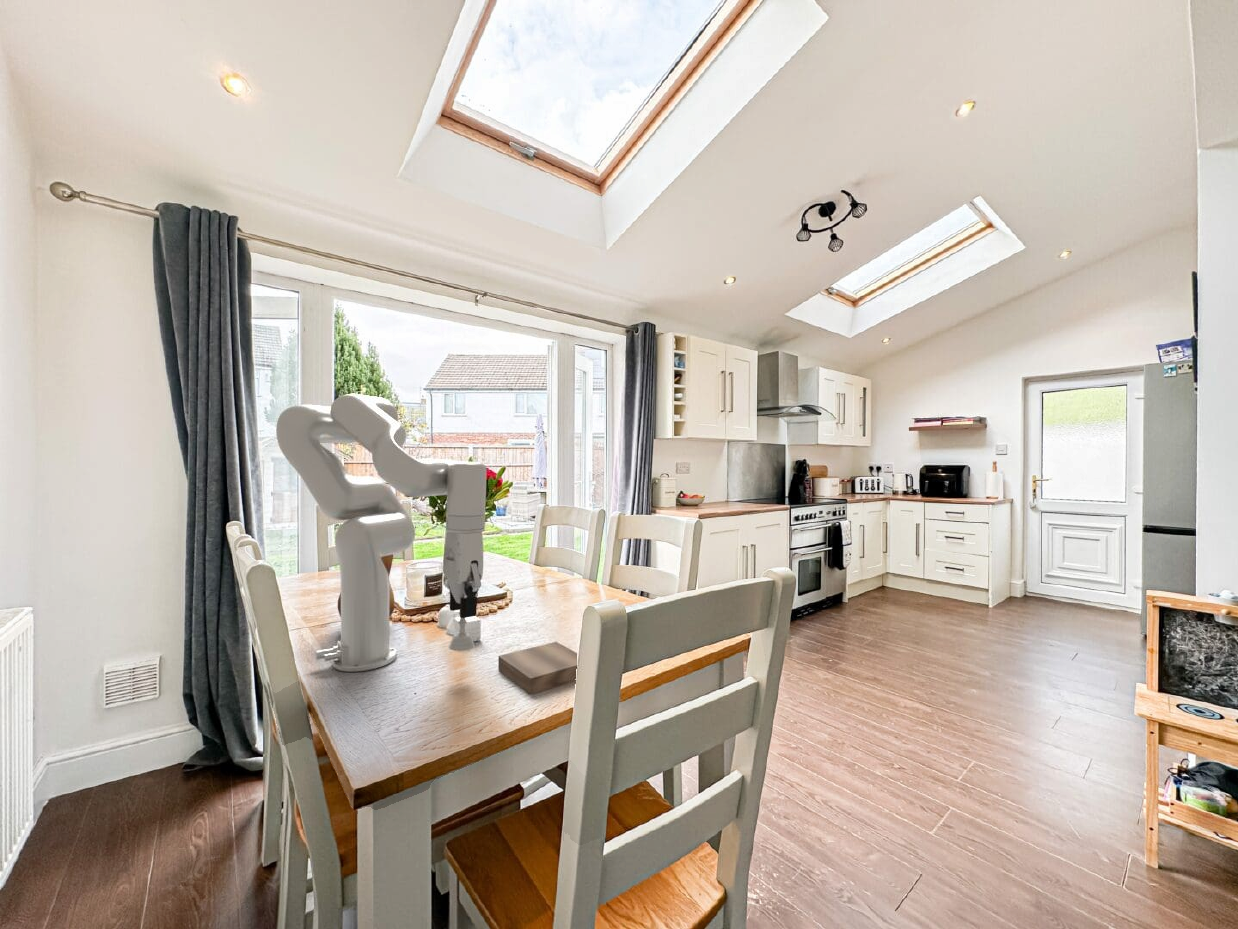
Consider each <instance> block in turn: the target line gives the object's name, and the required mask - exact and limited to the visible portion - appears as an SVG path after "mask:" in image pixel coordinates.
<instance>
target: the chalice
mask: <svg viewBox="0 0 1238 929" xmlns="http://www.w3.org/2000/svg"><path fill="white" fill-rule="evenodd" d="M446 559H447V561H448V563H449V567H448V577H447V583H448V586H449V590H450V591H451V593H452V595H453V597H454V599H455V601H456V602H457V603H459V604H460V598H461V597H462V583H461V584H458V583H456V582H455V581H453V567H454V566H453V564H454V563H455V561H451V560H448V558H446ZM466 581H472V579H471V578H467V580H466ZM466 581H465V582H466ZM466 586H467V589H468V587H469V586H471V584H467V585H466ZM459 615H460V612H459ZM458 623H459V624H460V631H459V632H458V633H457V634H455V635H452V639H451V641H450V644H449V645H448V648H449V649H448V650H451V651H454V652H455V651H456V652H462V651H463V652H464V651H469V650H472V649H473V648H474V647H476V646H475V645H476V644H475V643H474V641H473V639H472V638H471V637H472V636H471V635H470V634H469V633H466V631H465V624H466V623H467V621H466V619H465V618H461V617H460V621H459V622H458Z"/></svg>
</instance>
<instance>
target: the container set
mask: <svg viewBox="0 0 1238 929" xmlns="http://www.w3.org/2000/svg"><path fill="white" fill-rule="evenodd" d="M459 612H460V610H454V611H451V610H450V604H446V605H445V606H443V607H442V608H440V609H439V611H438V614H437V619H438V620H437V627H441V628H446V634H448V635H451V636H454V635H455V634H457V633H458V632H459V631H460V624H459V623H458V622H459V621H460V615H459ZM465 619H466V621H467V623H466V624H465V631H466V633H469V634H470V635H471V636H472V637H471V638H472V639H473V642H478V641H481V638H482V635H481V633H482V632H481V631H482V630H481V629H482V628H481V627H482V626H481V623H482V621H481V619H480V618H479V617H477V615H476V616H473V617H467V618H465Z"/></svg>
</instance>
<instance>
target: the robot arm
mask: <svg viewBox="0 0 1238 929" xmlns="http://www.w3.org/2000/svg"><path fill="white" fill-rule="evenodd" d="M398 421H399V416H398V411H397V408H396V407H395V405H394V404H393V403H392V402H390V401H389V400H388V399H386V398H383V397H378V396H370V395H364V394H357V393H348V394H343V395H341V396H338V397H337V398H335V400H333V402H332V403H331V405H330V406H323V405H313V404H299V405H294V406H293V405H292V406H290V407H288V408H286V409H284V410H283V411H282V412H281V413H280V415H279V416H278V418H277V421H276V431H275V432H276V439H277V444H278V446H279V449H280V451H281V453H282V454H283V456H284V457H285V459H286V460H287V461H288V463H289V464H290V465H291V467H292V468H294V470H295V472H297V473H298V475H299V476H300V478H301V479H302V481H303V482H304V484H305V486H306V487H307V489H308V490H309V492H310V494H311V496H312V497H313V499H314V501H315V502H316V503H317V505H318V507H319V508H320V510H321V511H322V513H323V514H324V515H325V517H327V518H328V519H330V520H332V521H344V522H343V523H342V524H340V526H339V527H338V529H337V531H336V533H335V538H334V542H335V544H334V546H335V549H336V554H337V558H338V564H339V572H340V573H339V574H340V575H339V576H340V577H339V578H340V592H341V617H340V640H338V641H336V645H332V648H324V649H323V648H322V649H318V650H315V656H314V657H315V661H320V660H323V661H324V662H328V661H332V667H333V668H334V669H335V670H338V671H341V672H346V673H347V672H364V671H370V670H374V669H377V668H382V667H384V666H387V665H389V664H391V663H393V662H394V660H396V658H397V656H398V650H397V649H396V648H394V647H393V646H390V617H389V582H390V575H389V576H388V572H387V570H386V568H385V566H384V564H383V562H382V560H381V557H383V556H387V555H391V554H393V555H395V554H399V553H401V552H404V551H407V549H409V548H410V547H411V546H412V545H413V544H414V541H415V537H416V529H415V526H414V523H413V520H412V519H411V517H410V514H408V512H407V510H406V509H405V508H404V506H403V505H402V503H401V502H400V500H399V499H398V497H397V496H396V494H395V493H394V491H393V490H392V489H391V487H392V488H394V489H395V490H396V491H398V492H399V493H401V494H403V495H404V496H407V497H410V498H425V497H435V496H436V497H437V496H446V509H445V511H446V512H445V514H446V515H445V516H446V517H445V531H446V534H445V535H446V536H445V542H444V552H443V564H442V573H443V575H444V576H445V577H447V578H448V567H449V563H448V561H447V559H446V558H448V560H451V561H455V563H454V564H453V566H454V567H453V581H455V582H456V583H458V584H461V583H462V597H461V598H460V604H459V603H457V602H456V601H455V599H454V597H453V595H452V593H451V590H450V592H449V605H450V610H451V611H454V610H459V611H460V617H461V618H467V617H473V616H476V617H477V609H478V608H477V607H478V606H477V604H478V601H477V600H478V595H479V590H480V588H481V587H482V581H481V580H482V579H483V576H484V539H483V538H484V536H483V532H485V529H486V502H487V499H486V498H487V467H486V465H485V464H484V463H482V462H477V461H456V460H451V459H444V458H443V459H442V458H415V457H414V456H412V455H411V454H409V453H408V452H407V451H405V450H404V449H403V448H402V447H403V446H404V444H405V441H406V438H407V431H406V429H405V427H404V426H403V425H402V424H401V423H400V422H398ZM353 443H358V444H359V445H360V446H361V447H363V448H364V449H365V450H367V451H368V452H369V453H370V454H371V459H372V464H373V467H374V469H375V471H376V473H377V474H378V476H379V477H380V478H381V479H380V478H378V477H375V476H354V475H352V474H350V473H349V472H348V470H347V469H346V467H345V466H344V465H343V463H342V461H341V459H340V458H338V456H337V455H335V454H334V453H333V452H332V451H331V450H329V449H328V448H326V447H325V446H323V445H322V444H337V445H338V444H341V445H346V444H353ZM389 485H390V486H391V487H390V486H389ZM467 578H471V579H472V581H466V580H467ZM465 581H466V582H465ZM467 584H471V586H469V587H468V589H467V586H466V585H467Z"/></svg>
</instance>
